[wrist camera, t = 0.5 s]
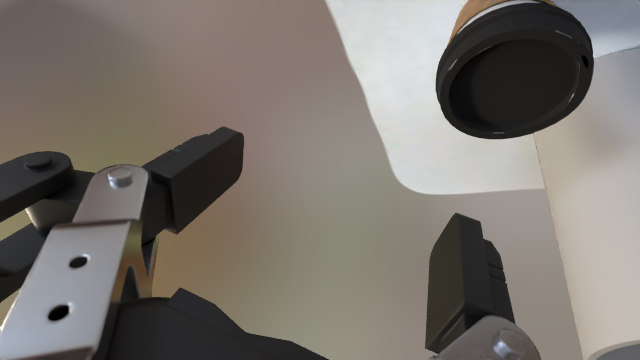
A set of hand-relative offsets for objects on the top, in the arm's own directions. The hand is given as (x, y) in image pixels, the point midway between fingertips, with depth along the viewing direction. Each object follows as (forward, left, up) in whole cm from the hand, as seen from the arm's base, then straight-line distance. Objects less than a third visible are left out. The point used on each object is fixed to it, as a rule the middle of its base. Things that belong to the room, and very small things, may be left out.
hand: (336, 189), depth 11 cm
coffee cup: (+6, +4, -27) cm, 28 cm away
